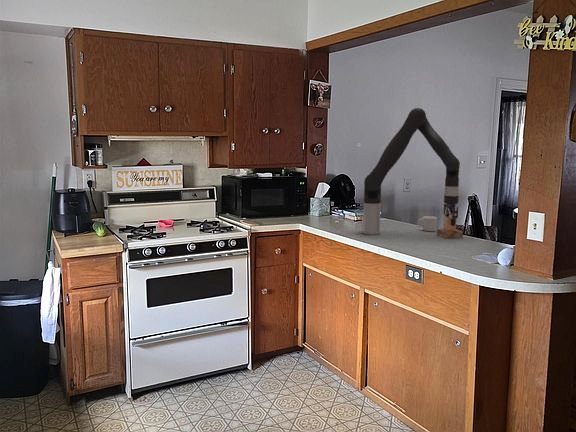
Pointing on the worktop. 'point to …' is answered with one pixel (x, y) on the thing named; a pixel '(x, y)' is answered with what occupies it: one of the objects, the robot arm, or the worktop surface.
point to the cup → (428, 223)
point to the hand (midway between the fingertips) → (450, 224)
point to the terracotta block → (449, 224)
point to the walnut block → (449, 234)
